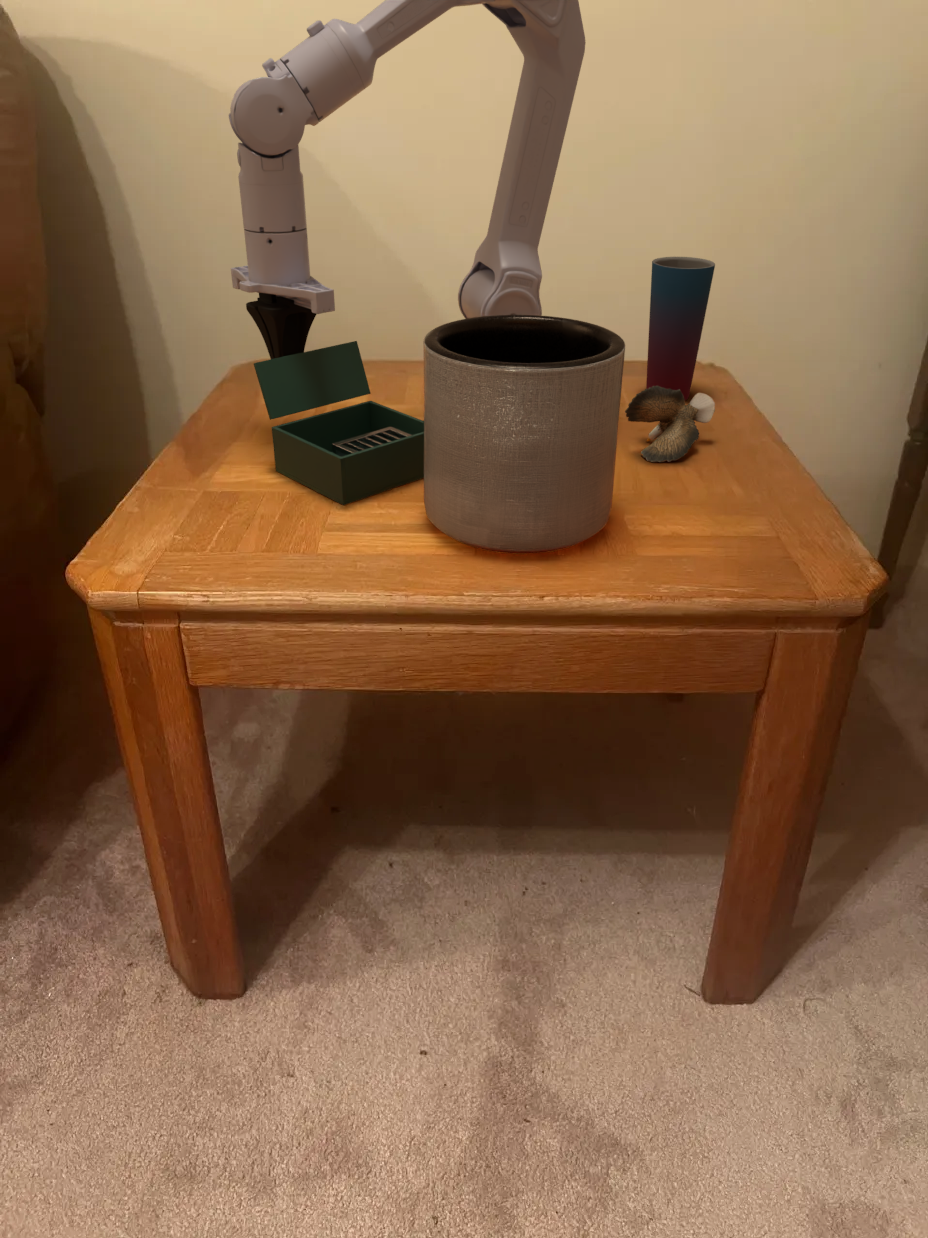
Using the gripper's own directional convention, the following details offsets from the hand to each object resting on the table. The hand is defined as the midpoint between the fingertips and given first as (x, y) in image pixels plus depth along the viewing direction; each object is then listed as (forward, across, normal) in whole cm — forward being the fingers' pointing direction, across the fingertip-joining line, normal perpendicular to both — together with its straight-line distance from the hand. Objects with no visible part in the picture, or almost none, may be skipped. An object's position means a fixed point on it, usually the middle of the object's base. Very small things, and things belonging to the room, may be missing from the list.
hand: (288, 374), depth 94 cm
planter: (+7, +29, +4) cm, 30 cm away
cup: (+7, +16, +41) cm, 45 cm away
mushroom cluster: (+7, +26, +28) cm, 39 cm away
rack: (+6, +13, 0) cm, 15 cm away
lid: (-1, +5, 0) cm, 5 cm away
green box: (+7, +11, 0) cm, 13 cm away
